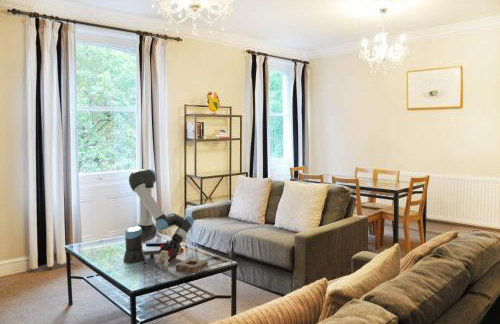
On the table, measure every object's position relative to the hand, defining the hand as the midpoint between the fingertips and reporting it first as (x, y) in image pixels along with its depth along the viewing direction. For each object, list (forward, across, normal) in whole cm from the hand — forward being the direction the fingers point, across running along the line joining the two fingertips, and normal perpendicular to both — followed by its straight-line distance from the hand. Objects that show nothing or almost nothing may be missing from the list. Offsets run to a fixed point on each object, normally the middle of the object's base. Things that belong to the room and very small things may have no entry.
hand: (160, 264), depth 285 cm
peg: (+1, 0, -5) cm, 5 cm away
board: (-8, -13, -14) cm, 21 cm away
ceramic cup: (-11, +13, -17) cm, 24 cm away
